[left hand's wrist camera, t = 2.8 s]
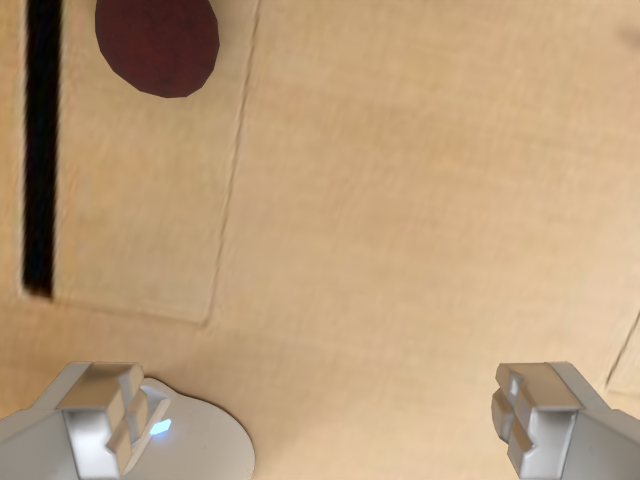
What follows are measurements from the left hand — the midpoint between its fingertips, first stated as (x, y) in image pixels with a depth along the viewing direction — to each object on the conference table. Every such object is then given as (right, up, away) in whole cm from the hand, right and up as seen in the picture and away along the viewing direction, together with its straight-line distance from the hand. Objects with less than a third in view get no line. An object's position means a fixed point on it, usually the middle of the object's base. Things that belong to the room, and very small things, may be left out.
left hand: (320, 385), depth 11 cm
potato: (-10, +17, +21) cm, 29 cm away
